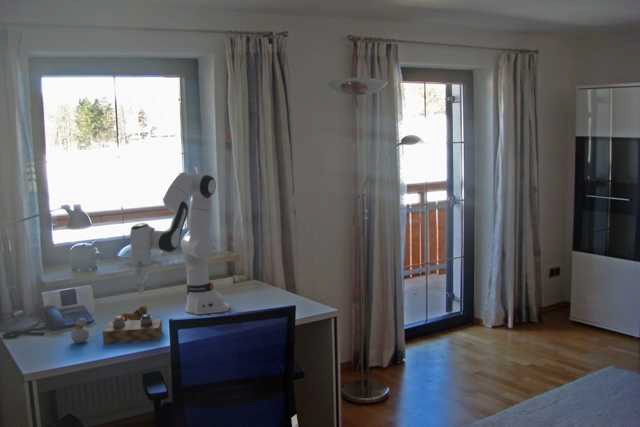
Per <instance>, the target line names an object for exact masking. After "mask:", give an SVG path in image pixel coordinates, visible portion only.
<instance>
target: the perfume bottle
mask: <svg viewBox="0 0 640 427" xmlns="http://www.w3.org/2000/svg"><path fill="white" fill-rule="evenodd" d="M86 325H87V319H86V318H83V317H80V316H78V318H77V322H75V327H74V328H73V330H72V331H71V335H70V336H71V340H72V341H73V343H76V344H83V343H85V342H87V341H88V339H89V337H90V333H89V330H88V329H87V328H86V327H85V326H86Z"/></svg>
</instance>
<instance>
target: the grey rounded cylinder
mask: <svg viewBox="0 0 640 427" xmlns="http://www.w3.org/2000/svg"><path fill="white" fill-rule="evenodd" d="M112 322H113V328H119V327H124V326H125V318H123V316H121V315H116V316H114V317H113V321H112Z"/></svg>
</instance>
